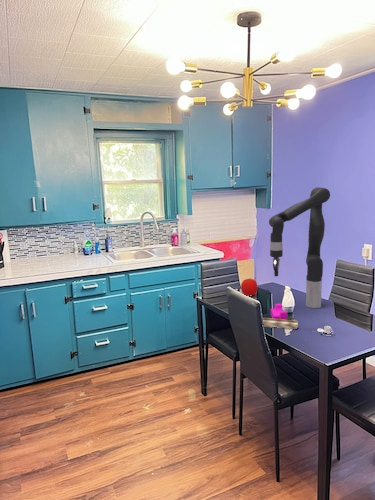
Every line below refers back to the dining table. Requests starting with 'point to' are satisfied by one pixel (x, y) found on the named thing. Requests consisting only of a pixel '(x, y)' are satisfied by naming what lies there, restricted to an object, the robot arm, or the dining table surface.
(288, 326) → the plank
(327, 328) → the teacup and saucer
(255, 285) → the tomato
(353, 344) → the dining table surface
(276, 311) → the toy block
